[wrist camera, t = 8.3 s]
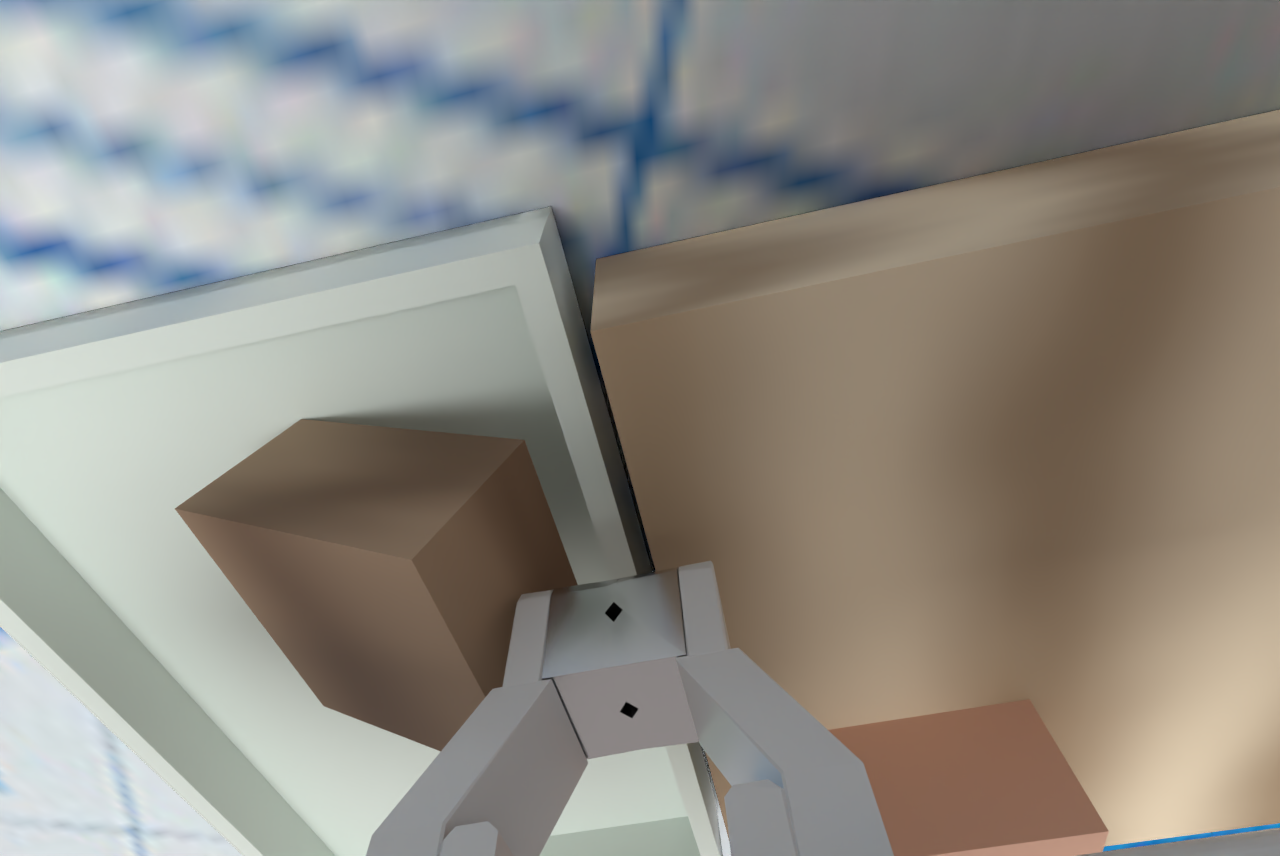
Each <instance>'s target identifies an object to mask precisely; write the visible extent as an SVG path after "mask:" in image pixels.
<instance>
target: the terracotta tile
mask: <svg viewBox="0 0 1280 856" xmlns="http://www.w3.org/2000/svg"><path fill="white" fill-rule="evenodd" d="M828 731H829V732H831V733H832V734H833V735H834V736H835V737H836V738H837V739H838V740H839V741H840V742H841V743H842V744H844V745H845V746H846V747H847V748H848V749H849V750H850V751H851V752H852V753H853V754H854V755H855V756H857V757H858V758H859V759H860V760H861V761H862V762H863V763H864V766H865V769H866V773H867V776H868V779H869V782H870V785H871V788H872V791H873V794H874V797H875V800H876V803H877V806H878V809H879V812H880V815H881V818H882V821H883V824H884V827H885V830H886V833H887V836H888V839H889V842H890V845H891V848H892V851H893V854H894V856H1076V855H1083V854H1091V853H1098V852H1102V851H1103V848H1104V845H1105V842H1106V839H1107V836H1108V832H1109V831H1108V829H1107V827H1106V826H1105V824H1104V822H1103V821H1102V819H1101V817H1100V816H1099V814H1098V812H1097V811H1096V809H1095V807H1094V806H1093V804H1092V802H1091V801H1090V799H1089V797H1088V796H1087V794H1086V792H1085V791H1084V789H1083V787H1082V786H1081V784H1080V782H1079V781H1078V779H1077V777H1076V776H1075V774H1074V772H1073V771H1072V769H1071V767H1070V766H1069V764H1068V762H1067V761H1066V759H1065V757H1064V756H1063V754H1062V752H1061V751H1060V749H1059V747H1058V746H1057V744H1056V742H1055V741H1054V739H1053V737H1052V736H1051V734H1050V732H1049V731H1048V729H1047V727H1046V726H1045V724H1044V722H1043V721H1042V719H1041V717H1040V716H1039V714H1038V712H1037V711H1036V709H1035V707H1034V706H1033V704H1032V702H1031V701H1030V699H1027V700H1021V701H1014V702H1007V703H1001V704H994V705H988V706H981V707H975V708H968V709H962V710H955V711H949V712H942V713H935V714H929V715H922V716H916V717H909V718H903V719H896V720H890V721H883V722H877V723H870V724H863V725H857V726H850V727H844V728H837V729H831V730H828Z"/></svg>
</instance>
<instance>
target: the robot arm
mask: <svg viewBox="0 0 1280 856" xmlns="http://www.w3.org/2000/svg"><path fill="white" fill-rule="evenodd" d="M695 742H699V743H700V745H701V747H702V748H703V749H704V751H705V752H706V753H707V755H708V756H709V757H710V759H711V760H712V761H713V762H714V764H715V765H716V766H717V768H718V769H719V770H720V772H721V773H722V774H723V776H724V777H725V778H726V779H727V781H728V782H729V783H730V785H731V786H732V787H731V788H730V790H729V791H728V793H727V794H726V796H725V797H724V800H725V808H726V816H727V824H728V832H729V840H730V849H731V856H894V854H893V851H892V848H891V845H890V842H889V839H888V836H887V833H886V830H885V827H884V824H883V821H882V818H881V815H880V812H879V809H878V806H877V803H876V800H875V797H874V794H873V791H872V788H871V785H870V782H869V779H868V776H867V773H866V769H865V766H864V763H863V762H862V761H861V760H860V759H859V758H858V757H857V756H855V755H854V754H853V753H852V752H851V751H850V750H849V749H848V748H847V747H846V746H845V745H844V744H842V743H841V742H840V741H839V740H838V739H837V738H836V737H835V736H834V735H833V734H832V733H831V732H829V731H828V730H827V729H826V728H825V727H824V726H823V725H822V724H821V723H820V722H819V721H818V720H816V719H815V718H814V717H813V716H812V715H811V714H810V713H809V712H808V711H807V710H806V709H805V708H803V707H802V706H801V705H800V704H799V703H798V702H797V701H796V700H795V699H794V698H793V697H792V696H790V695H789V694H788V693H787V692H786V691H785V690H784V689H783V688H782V687H781V686H780V685H779V684H777V683H776V682H775V681H774V680H773V679H772V678H771V677H770V676H769V675H768V674H767V673H766V672H764V671H763V670H762V669H761V668H760V667H759V666H758V665H757V664H756V663H755V662H754V661H752V660H751V659H750V658H749V657H748V656H747V655H746V654H745V653H744V652H743V651H742V650H741V649H739V648H732V649H731V647H730V642H729V637H728V633H727V628H726V623H725V618H724V614H723V609H722V604H721V599H720V594H719V590H718V585H717V580H716V575H715V571H714V566H713V563H712V561H706V562H701V563H695V564H690V565H685V566H680V567H679V568H678V567H676V568H671V569H665V570H660V571H655V572H649V573H644V574H639V575H633V576H628V577H623V578H618V579H614V580H607V581H601V582H594V583H588V584H581V585H575V586H568V587H562V588H555V589H554V590H548V591H541V592H534V593H527V594H522V595H521V596H520V598H519V600H518V602H517V604H516V609H515V615H514V621H513V627H512V633H511V639H510V645H509V651H508V656H507V662H506V668H505V674H504V680H503V686H502V687H499V688H494V689H492V690H491V691H490V692H489V694H488V695H487V696H486V697H485V698H484V700H483V701H482V702H481V703H480V705H479V706H478V707H477V708H476V709H475V711H474V712H473V713H472V714H471V715H470V717H469V718H468V719H467V720H466V722H465V723H464V724H463V725H462V726H461V728H460V729H459V730H458V731H457V732H456V734H455V735H454V736H453V737H452V739H451V740H450V741H449V742H448V743H447V745H446V746H445V747H444V748H443V749H442V751H441V752H440V753H439V754H438V756H437V757H436V758H435V759H434V760H433V762H432V763H431V764H430V765H429V766H428V768H427V769H426V770H425V771H424V773H423V774H422V775H421V776H420V777H419V779H418V780H417V781H416V782H415V783H414V785H413V786H412V787H411V788H410V790H409V791H408V792H407V793H406V794H405V796H404V797H403V798H402V799H401V801H400V802H399V803H398V804H397V805H396V807H395V808H394V809H393V810H392V811H391V813H390V814H389V815H388V816H387V818H386V819H385V820H384V821H383V822H382V824H381V825H380V826H379V827H378V828H377V830H376V831H375V832H374V833H373V835H372V837H371V840H370V843H369V847H368V850H367V853H366V856H539V855H540V854H541V852H542V850H543V848H544V846H545V844H546V842H547V840H548V838H549V837H550V835H551V833H552V831H553V829H554V827H555V825H556V823H557V821H558V820H559V818H560V816H561V814H562V812H563V810H564V808H565V806H566V804H567V803H568V801H569V799H570V797H571V795H572V793H573V791H574V789H575V787H576V786H577V784H578V782H579V780H580V778H581V776H582V774H583V772H584V770H585V768H586V767H587V765H588V761H587V759H592V758H598V757H603V756H609V755H614V754H619V753H625V752H630V751H635V750H641V749H648V748H656V747H664V746H671V745H679V744H687V743H695ZM1076 856H1280V828H1275V829H1268V830H1260V831H1253V832H1245V833H1238V834H1231V835H1223V836H1216V837H1209V838H1201V839H1194V840H1186V841H1179V842H1172V843H1164V844H1157V845H1150V846H1142V847H1135V848H1127V849H1120V850H1113V851H1105V852H1098V853H1091V854H1083V855H1076Z"/></svg>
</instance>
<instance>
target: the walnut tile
mask: <svg viewBox="0 0 1280 856" xmlns="http://www.w3.org/2000/svg"><path fill="white" fill-rule="evenodd" d="M175 510H176V511H177V513H178V514H179V515H180V517H181V518H182V519H183V521H184V522H185V523H186V524H187V526H188V527H189V528H190V530H191V531H192V532H193V534H194V535H195V536H196V538H197V539H198V540H199V542H200V543H201V544H202V546H203V547H204V548H205V550H206V551H207V552H208V554H209V555H210V556H211V558H212V559H213V560H214V562H215V563H216V564H217V566H218V567H219V568H220V570H221V571H222V572H223V574H224V575H225V576H226V578H227V579H228V580H229V582H230V583H231V584H232V585H233V587H234V588H235V589H236V591H237V592H238V593H239V595H240V596H241V597H242V599H243V600H244V601H245V603H246V604H247V605H248V607H249V608H250V609H251V611H252V612H253V613H254V615H255V616H256V617H257V619H258V620H259V621H260V623H261V624H262V625H263V627H264V628H265V629H266V631H267V632H268V633H269V635H270V636H271V637H272V639H273V640H274V641H275V643H276V644H277V645H278V646H279V648H280V649H281V650H282V652H283V653H284V654H285V656H286V657H287V658H288V660H289V661H290V662H291V664H292V665H293V666H294V668H295V669H296V670H297V672H298V673H299V674H300V676H301V677H302V678H303V680H304V681H305V682H306V684H307V685H308V686H309V688H310V689H311V690H312V692H313V693H314V694H315V696H316V697H317V698H318V700H319V701H320V702H321V704H322V705H323V706H324V707H327V708H330V709H332V710H335V711H337V712H340V713H342V714H345V715H348V716H350V717H353V718H355V719H358V720H361V721H363V722H366V723H368V724H371V725H373V726H376V727H379V728H381V729H384V730H386V731H389V732H392V733H394V734H397V735H399V736H402V737H405V738H407V739H410V740H412V741H415V742H417V743H420V744H423V745H425V746H428V747H430V748H433V749H436V750H438V751H442V749H443V748H444V747H445V746H446V745H447V743H448V742H449V741H450V740H451V739H452V737H453V736H454V735H455V734H456V732H457V731H458V730H459V729H460V728H461V726H462V725H463V724H464V723H465V722H466V720H467V719H468V718H469V717H470V715H471V714H472V713H473V712H474V711H475V709H476V708H477V707H478V706H479V705H480V703H481V702H482V701H483V700H484V698H485V697H486V696H487V695H488V694H489V692H490V691H491V690H492V689H494V688H499V687H502V686H503V680H504V674H505V668H506V662H507V656H508V651H509V645H510V639H511V633H512V627H513V621H514V615H515V609H516V604H517V602H518V600H519V598H520V596H521V595H522V594H527V593H534V592H541V591H548V590H554V589H555V588H562V587H568V586H575V585H578V584H577V581H576V579H575V576H574V573H573V571H572V568H571V565H570V562H569V560H568V557H567V554H566V552H565V549H564V546H563V543H562V541H561V538H560V535H559V532H558V530H557V527H556V524H555V522H554V519H553V516H552V513H551V511H550V508H549V505H548V503H547V500H546V497H545V494H544V492H543V489H542V486H541V484H540V481H539V478H538V475H537V473H536V470H535V467H534V465H533V462H532V459H531V456H530V454H529V451H528V448H527V445H526V443H525V440H521V439H510V438H500V437H489V436H478V435H467V434H457V433H446V432H435V431H424V430H414V429H403V428H392V427H381V426H371V425H360V424H349V423H338V422H328V421H317V420H306V419H300V420H299V421H298V422H296V423H295V424H293V425H292V426H291V427H289V428H288V429H286V430H285V431H284V432H282V433H281V434H279V435H278V436H276V437H275V438H274V439H272V440H271V441H269V442H268V443H267V444H265V445H264V446H262V447H261V448H259V449H258V450H257V451H255V452H254V453H252V454H251V455H250V456H248V457H247V458H245V459H244V460H243V461H241V462H240V463H238V464H237V465H235V466H234V467H233V468H231V469H230V470H228V471H227V472H226V473H224V474H223V475H221V476H220V477H219V478H217V479H216V480H214V481H213V482H211V483H210V484H209V485H207V486H206V487H204V488H203V489H202V490H200V491H199V492H197V493H196V494H194V495H193V496H192V497H190V498H189V499H187V500H186V501H185V502H183V503H182V504H180V505H179V506H178V507H176V508H175Z"/></svg>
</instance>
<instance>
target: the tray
mask: <svg viewBox="0 0 1280 856" xmlns="http://www.w3.org/2000/svg"><path fill="white" fill-rule="evenodd" d="M300 419H306V420H317V421H328V422H338V423H349V424H360V425H371V426H381V427H392V428H403V429H414V430H424V431H435V432H446V433H457V434H467V435H478V436H489V437H500V438H510V439H521V440H525V443H526V445H527V448H528V451H529V454H530V456H531V459H532V462H533V465H534V467H535V470H536V473H537V475H538V478H539V481H540V484H541V486H542V489H543V492H544V494H545V497H546V500H547V503H548V505H549V508H550V511H551V513H552V516H553V519H554V522H555V524H556V527H557V530H558V532H559V535H560V538H561V541H562V543H563V546H564V549H565V552H566V554H567V557H568V560H569V562H570V565H571V568H572V571H573V573H574V576H575V579H576V581H577V584H578V585H581V584H588V583H594V582H601V581H607V580H614V579H618V578H623V577H628V576H633V575H639V574H644V573H649V572H652V569H651V565H650V562H649V558H648V554H647V551H646V547H645V543H644V540H643V536H642V533H641V529H640V525H639V522H638V518H637V515H636V511H635V507H634V504H633V500H632V497H631V493H630V489H629V486H628V482H627V478H626V475H625V471H624V468H623V464H622V460H621V457H620V453H619V450H618V446H617V442H616V439H615V435H614V431H613V428H612V424H611V421H610V417H609V413H608V410H607V406H606V403H605V399H604V395H603V392H602V388H601V385H600V381H599V377H598V374H597V370H596V366H595V363H594V359H593V356H592V352H591V348H590V345H589V341H588V338H587V334H586V330H585V327H584V323H583V320H582V316H581V312H580V309H579V305H578V301H577V298H576V294H575V291H574V287H573V283H572V280H571V276H570V273H569V269H568V265H567V262H566V258H565V255H564V251H563V247H562V244H561V240H560V236H559V233H558V229H557V226H556V222H555V218H554V215H553V211H552V208H551V206H550V207H546V208H542V209H537V210H533V211H528V212H524V213H520V214H515V215H511V216H506V217H502V218H498V219H493V220H489V221H484V222H480V223H476V224H471V225H467V226H462V227H458V228H454V229H449V230H445V231H440V232H436V233H432V234H427V235H423V236H418V237H414V238H410V239H405V240H401V241H396V242H392V243H388V244H383V245H379V246H374V247H370V248H366V249H361V250H357V251H352V252H348V253H343V254H339V255H335V256H330V257H326V258H321V259H317V260H313V261H308V262H304V263H299V264H295V265H291V266H286V267H282V268H277V269H273V270H269V271H264V272H260V273H255V274H251V275H247V276H242V277H238V278H233V279H229V280H225V281H220V282H216V283H211V284H207V285H203V286H198V287H194V288H189V289H185V290H181V291H176V292H172V293H167V294H163V295H159V296H154V297H150V298H145V299H141V300H137V301H132V302H128V303H123V304H119V305H115V306H110V307H106V308H101V309H97V310H93V311H88V312H84V313H79V314H75V315H71V316H66V317H62V318H57V319H53V320H48V321H44V322H40V323H35V324H31V325H26V326H22V327H18V328H13V329H9V330H4V331H0V627H1V628H2V629H3V630H4V631H5V632H6V633H8V634H9V635H10V636H11V637H12V638H13V639H14V640H15V641H16V642H17V643H18V644H19V645H20V646H21V647H22V648H23V649H24V650H26V651H27V652H28V653H29V654H30V655H31V656H32V657H33V658H34V659H35V660H36V661H37V662H38V663H39V664H40V665H41V666H42V667H44V668H45V669H46V670H47V671H48V672H49V673H50V674H51V675H52V676H53V677H54V678H55V679H56V680H57V681H58V682H59V683H60V684H62V685H63V686H64V687H65V688H66V689H67V690H68V691H69V692H70V693H71V694H72V695H73V696H74V697H75V698H76V699H77V700H78V701H80V702H81V703H82V704H83V705H84V706H85V707H86V708H87V709H88V710H89V711H90V712H91V713H92V714H93V715H94V716H95V717H96V718H98V719H99V720H100V721H101V722H102V723H103V724H104V725H105V726H106V727H107V728H108V729H109V730H110V731H111V732H112V733H113V734H114V735H116V736H117V737H118V738H119V739H120V740H121V741H122V742H123V743H124V744H125V745H126V746H127V747H128V748H129V749H130V750H131V751H132V752H134V753H135V754H136V755H137V756H138V757H139V758H140V759H141V760H142V761H143V762H144V763H145V764H146V765H147V766H148V767H149V768H150V769H152V770H153V771H154V772H155V773H156V774H157V775H158V776H159V777H160V778H161V779H162V780H163V781H164V782H165V783H166V784H167V785H168V786H170V787H171V788H172V789H173V790H174V791H175V792H176V793H177V794H178V795H179V796H180V797H181V798H182V799H183V800H184V801H185V802H187V803H188V804H189V805H190V806H191V807H192V808H193V809H194V810H195V811H196V812H197V813H198V814H199V815H200V816H201V817H202V818H203V819H205V820H206V821H207V822H208V823H209V824H210V825H211V826H212V827H213V828H214V829H215V830H216V831H217V832H218V833H219V834H220V835H221V836H223V837H224V838H225V839H226V840H227V841H228V842H229V843H230V844H231V845H232V846H233V847H234V848H235V849H236V850H237V851H238V852H239V853H241V854H242V855H243V856H366V853H367V850H368V847H369V843H370V840H371V837H372V835H373V833H374V832H375V831H376V830H377V828H378V827H379V826H380V825H381V824H382V822H383V821H384V820H385V819H386V818H387V816H388V815H389V814H390V813H391V811H392V810H393V809H394V808H395V807H396V805H397V804H398V803H399V802H400V801H401V799H402V798H403V797H404V796H405V794H406V793H407V792H408V791H409V790H410V788H411V787H412V786H413V785H414V783H415V782H416V781H417V780H418V779H419V777H420V776H421V775H422V774H423V773H424V771H425V770H426V769H427V768H428V766H429V765H430V764H431V763H432V762H433V760H434V759H435V758H436V757H437V756H438V754H439V753H440V752H441V751H438V750H436V749H433V748H430V747H428V746H425V745H423V744H420V743H417V742H415V741H412V740H410V739H407V738H405V737H402V736H399V735H397V734H394V733H392V732H389V731H386V730H384V729H381V728H379V727H376V726H373V725H371V724H368V723H366V722H363V721H361V720H358V719H355V718H353V717H350V716H348V715H345V714H342V713H340V712H337V711H335V710H332V709H330V708H327V707H324V706H323V705H322V704H321V702H320V701H319V700H318V698H317V697H316V696H315V694H314V693H313V692H312V690H311V689H310V688H309V686H308V685H307V684H306V682H305V681H304V680H303V678H302V677H301V676H300V674H299V673H298V672H297V670H296V669H295V668H294V666H293V665H292V664H291V662H290V661H289V660H288V658H287V657H286V656H285V654H284V653H283V652H282V650H281V649H280V648H279V646H278V645H277V644H276V643H275V641H274V640H273V639H272V637H271V636H270V635H269V633H268V632H267V631H266V629H265V628H264V627H263V625H262V624H261V623H260V621H259V620H258V619H257V617H256V616H255V615H254V613H253V612H252V611H251V609H250V608H249V607H248V605H247V604H246V603H245V601H244V600H243V599H242V597H241V596H240V595H239V593H238V592H237V591H236V589H235V588H234V587H233V585H232V584H231V583H230V582H229V580H228V579H227V578H226V576H225V575H224V574H223V572H222V571H221V570H220V568H219V567H218V566H217V564H216V563H215V562H214V560H213V559H212V558H211V556H210V555H209V554H208V552H207V551H206V550H205V548H204V547H203V546H202V544H201V543H200V542H199V540H198V539H197V538H196V536H195V535H194V534H193V532H192V531H191V530H190V528H189V527H188V526H187V524H186V523H185V522H184V521H183V519H182V518H181V517H180V515H179V514H178V513H177V511H176V510H175V508H176V507H178V506H179V505H180V504H182V503H183V502H185V501H186V500H187V499H189V498H190V497H192V496H193V495H194V494H196V493H197V492H199V491H200V490H202V489H203V488H204V487H206V486H207V485H209V484H210V483H211V482H213V481H214V480H216V479H217V478H219V477H220V476H221V475H223V474H224V473H226V472H227V471H228V470H230V469H231V468H233V467H234V466H235V465H237V464H238V463H240V462H241V461H243V460H244V459H245V458H247V457H248V456H250V455H251V454H252V453H254V452H255V451H257V450H258V449H259V448H261V447H262V446H264V445H265V444H267V443H268V442H269V441H271V440H272V439H274V438H275V437H276V436H278V435H279V434H281V433H282V432H284V431H285V430H286V429H288V428H289V427H291V426H292V425H293V424H295V423H296V422H298V421H299V420H300ZM587 761H588V765H587V767H586V768H585V770H584V772H583V774H582V776H581V778H580V780H579V782H578V784H577V786H576V787H575V789H574V791H573V793H572V795H571V797H570V799H569V801H568V803H567V804H566V806H565V808H564V810H563V812H562V814H561V816H560V818H559V820H558V821H557V823H556V825H555V827H554V829H553V831H552V833H551V835H550V837H549V838H548V840H547V842H546V844H545V846H544V848H543V850H542V852H541V854H540V855H539V856H723V855H722V847H721V839H720V831H719V823H718V815H717V807H716V800H715V796H714V793H713V789H712V785H711V782H710V778H709V775H708V771H707V767H706V764H705V760H704V757H703V753H702V749H701V746H700V743H699V742H695V743H687V744H679V745H671V746H664V747H656V748H648V749H641V750H635V751H630V752H625V753H619V754H614V755H609V756H603V757H598V758H592V759H587Z"/></svg>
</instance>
